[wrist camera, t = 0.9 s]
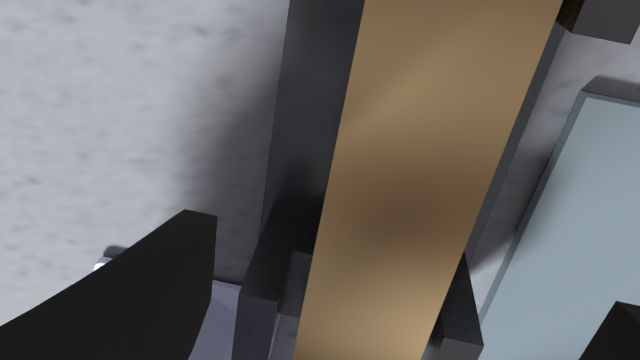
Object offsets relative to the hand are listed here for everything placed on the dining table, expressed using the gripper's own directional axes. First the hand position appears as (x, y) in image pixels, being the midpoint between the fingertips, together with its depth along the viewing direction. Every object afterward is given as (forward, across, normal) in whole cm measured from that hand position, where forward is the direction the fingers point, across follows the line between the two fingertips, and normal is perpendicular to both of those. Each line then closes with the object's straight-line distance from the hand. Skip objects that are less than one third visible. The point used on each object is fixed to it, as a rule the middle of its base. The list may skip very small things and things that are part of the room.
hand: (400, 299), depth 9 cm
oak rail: (+6, 0, 0) cm, 6 cm away
